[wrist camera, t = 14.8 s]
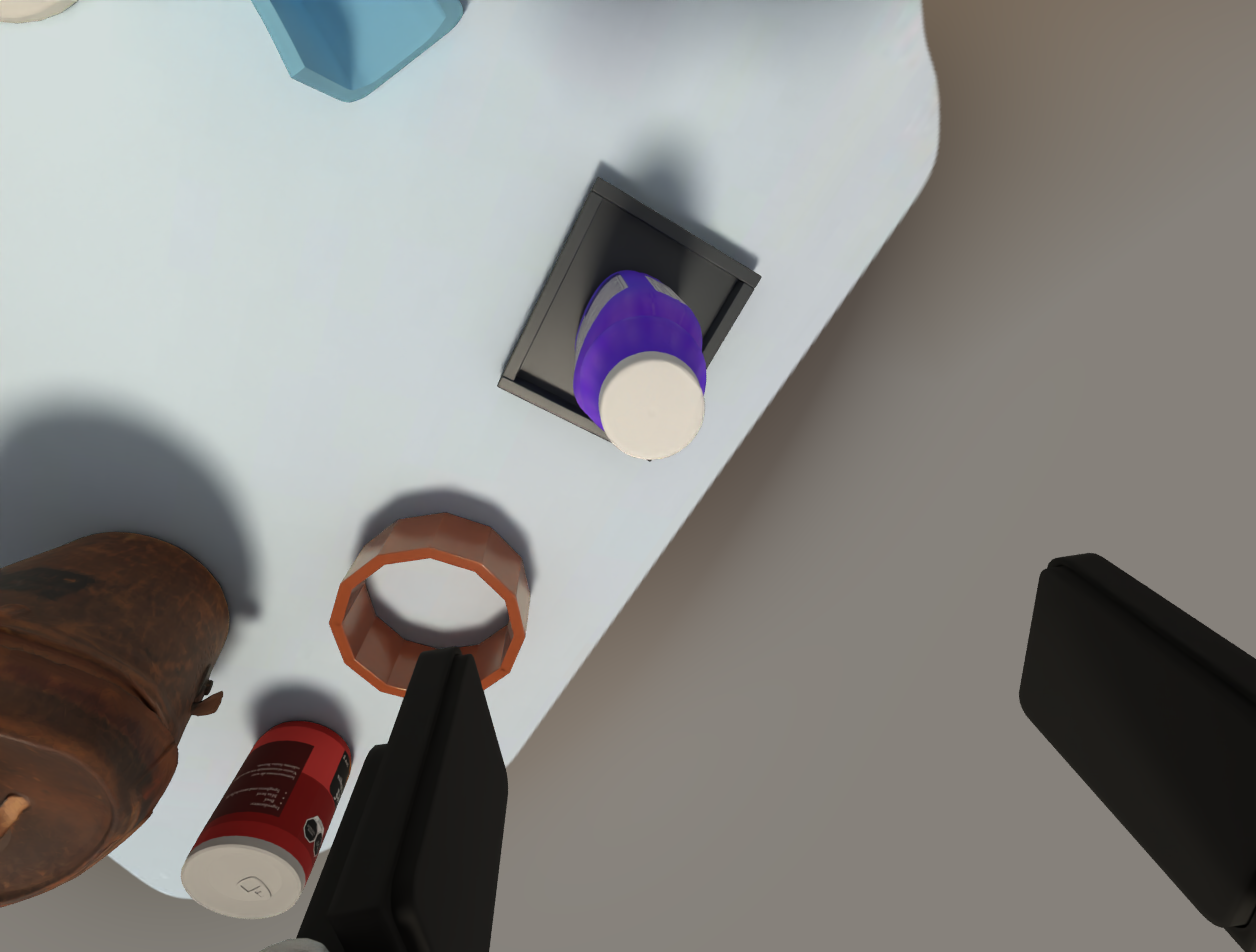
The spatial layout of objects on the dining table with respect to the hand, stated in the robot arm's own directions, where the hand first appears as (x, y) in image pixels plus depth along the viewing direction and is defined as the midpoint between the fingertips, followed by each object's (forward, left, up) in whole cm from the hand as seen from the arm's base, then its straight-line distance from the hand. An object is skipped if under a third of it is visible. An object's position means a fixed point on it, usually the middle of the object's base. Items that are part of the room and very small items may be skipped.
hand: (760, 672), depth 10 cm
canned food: (-31, -31, -32) cm, 55 cm away
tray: (0, 0, -32) cm, 32 cm away
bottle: (0, 0, -32) cm, 32 cm away
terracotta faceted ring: (-16, -17, -32) cm, 40 cm away
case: (-38, -16, -32) cm, 52 cm away
